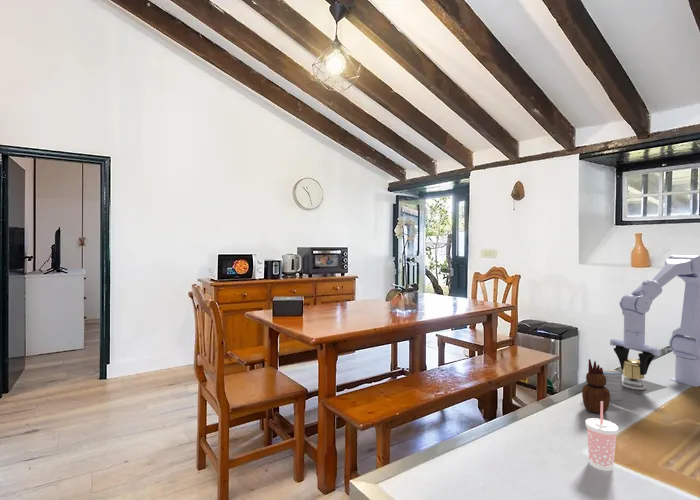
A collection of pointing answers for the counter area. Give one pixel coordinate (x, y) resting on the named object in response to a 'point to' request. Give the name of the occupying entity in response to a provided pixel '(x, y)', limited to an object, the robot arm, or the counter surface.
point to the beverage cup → (601, 442)
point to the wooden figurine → (595, 390)
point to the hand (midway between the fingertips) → (633, 371)
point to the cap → (632, 369)
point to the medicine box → (613, 383)
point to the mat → (650, 388)
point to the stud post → (634, 384)
